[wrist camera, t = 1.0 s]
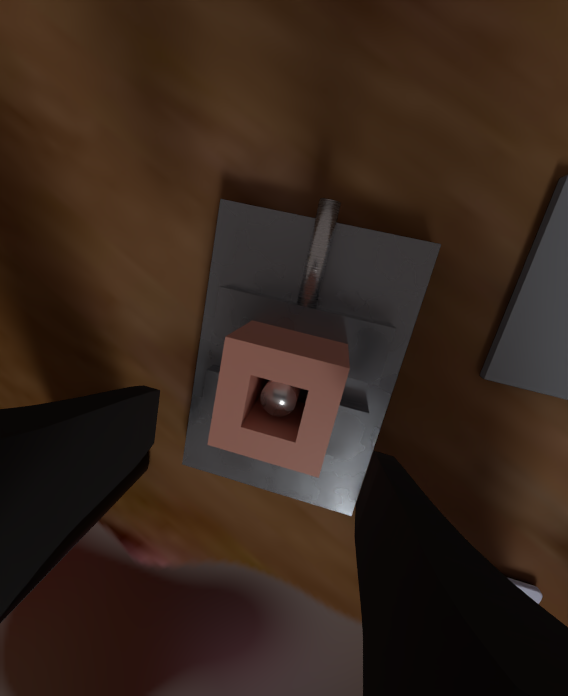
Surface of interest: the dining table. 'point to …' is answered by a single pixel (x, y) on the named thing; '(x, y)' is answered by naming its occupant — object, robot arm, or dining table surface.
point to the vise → (309, 332)
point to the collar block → (288, 368)
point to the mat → (538, 312)
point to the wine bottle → (80, 532)
